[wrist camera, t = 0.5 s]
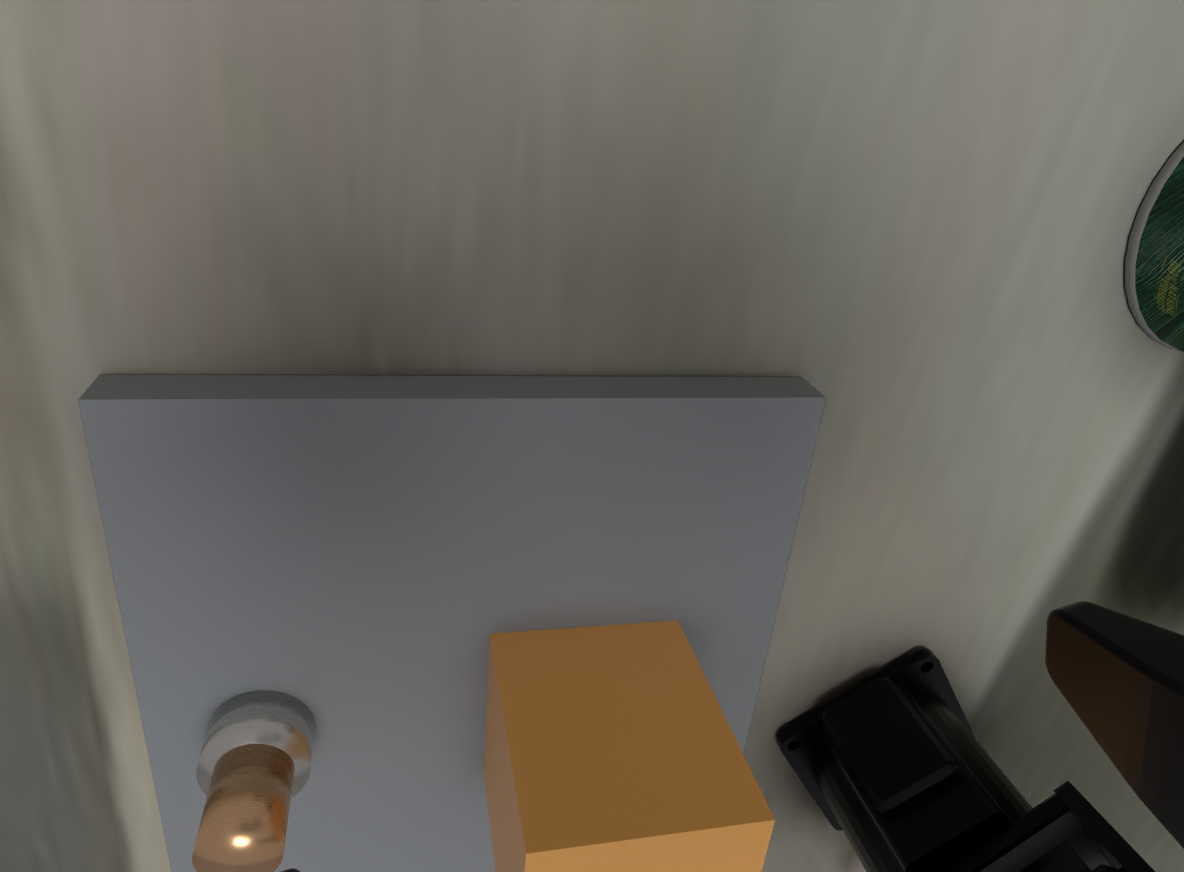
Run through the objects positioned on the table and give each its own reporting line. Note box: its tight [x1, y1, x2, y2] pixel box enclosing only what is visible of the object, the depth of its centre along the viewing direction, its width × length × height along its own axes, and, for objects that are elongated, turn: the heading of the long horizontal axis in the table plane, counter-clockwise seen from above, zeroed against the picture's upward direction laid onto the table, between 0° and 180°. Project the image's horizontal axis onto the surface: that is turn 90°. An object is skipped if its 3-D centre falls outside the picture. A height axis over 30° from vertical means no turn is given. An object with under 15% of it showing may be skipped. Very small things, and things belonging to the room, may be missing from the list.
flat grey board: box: [78, 374, 826, 872], centre depth 25 cm, size 24×18×2 cm
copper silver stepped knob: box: [192, 690, 315, 872], centre depth 21 cm, size 3×3×4 cm
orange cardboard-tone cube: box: [484, 620, 775, 872], centre depth 22 cm, size 6×6×7 cm
